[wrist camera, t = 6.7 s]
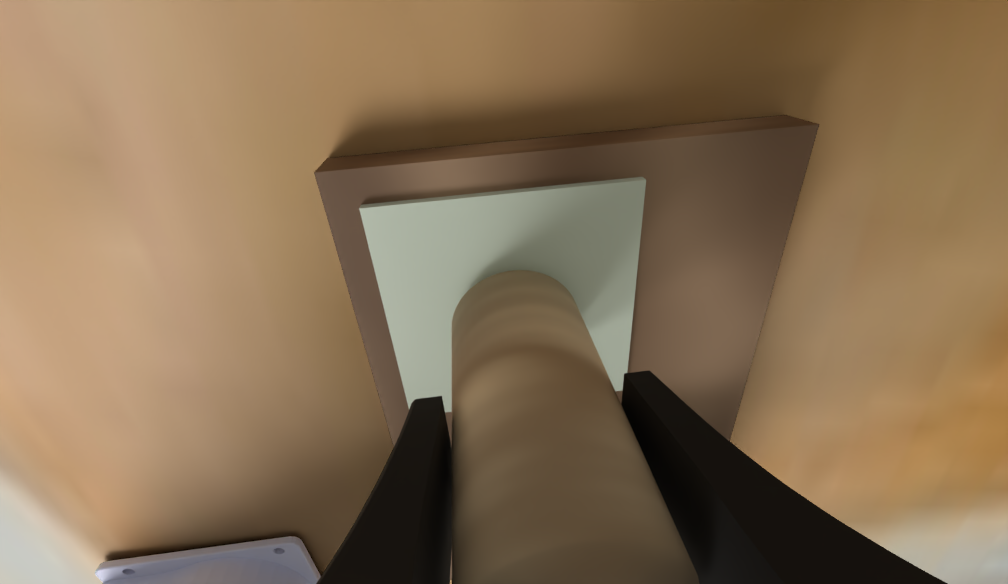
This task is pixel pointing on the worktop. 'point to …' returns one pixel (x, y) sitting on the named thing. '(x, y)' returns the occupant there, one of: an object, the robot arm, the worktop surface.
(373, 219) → the pad
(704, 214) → the walnut board
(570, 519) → the maple peg
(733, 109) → the worktop surface
